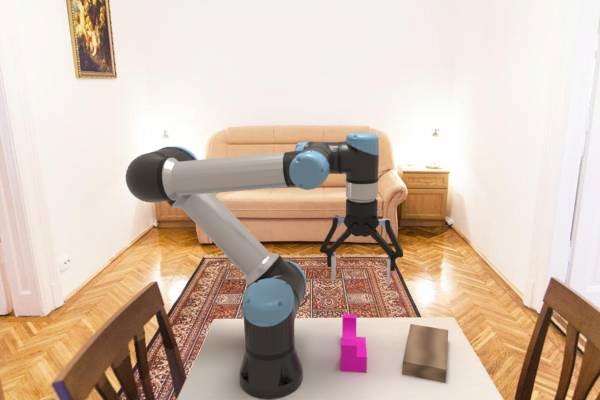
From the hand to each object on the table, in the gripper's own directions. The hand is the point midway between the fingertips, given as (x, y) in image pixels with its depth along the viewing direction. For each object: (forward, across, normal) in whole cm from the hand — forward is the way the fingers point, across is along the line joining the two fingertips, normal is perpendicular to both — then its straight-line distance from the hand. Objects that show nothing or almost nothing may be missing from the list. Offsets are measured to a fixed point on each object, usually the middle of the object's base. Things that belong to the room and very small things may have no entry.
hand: (360, 280), depth 110 cm
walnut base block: (+21, -17, -2) cm, 27 cm away
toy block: (+21, +2, +1) cm, 21 cm away
